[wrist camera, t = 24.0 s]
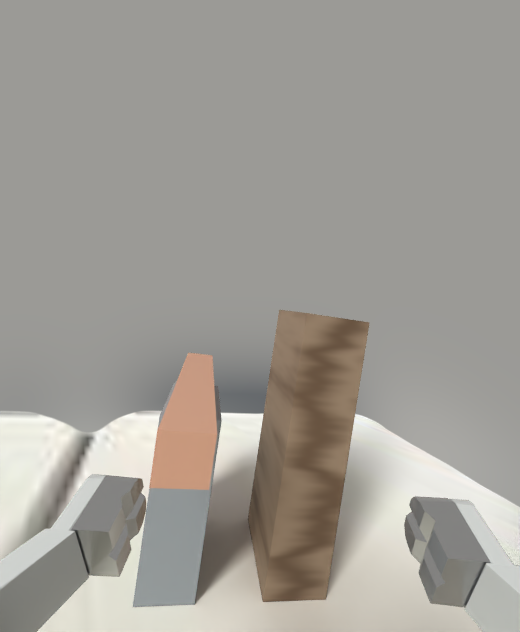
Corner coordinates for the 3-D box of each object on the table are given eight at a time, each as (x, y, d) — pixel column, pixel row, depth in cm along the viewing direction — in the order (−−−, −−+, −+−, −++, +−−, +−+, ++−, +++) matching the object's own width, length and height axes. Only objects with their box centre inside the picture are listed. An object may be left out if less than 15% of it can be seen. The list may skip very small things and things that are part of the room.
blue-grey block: (198, 517, 34) (217, 386, 34) (194, 604, 25) (221, 420, 24) (155, 516, 33) (174, 381, 33) (132, 606, 24) (159, 416, 23)
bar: (208, 378, 37) (212, 355, 37) (209, 489, 15) (217, 433, 15) (184, 376, 36) (188, 352, 36) (149, 487, 15) (157, 430, 14)
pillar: (294, 519, 36) (325, 316, 36) (325, 599, 27) (369, 322, 26) (248, 518, 35) (279, 309, 35) (262, 601, 26) (306, 313, 25)
